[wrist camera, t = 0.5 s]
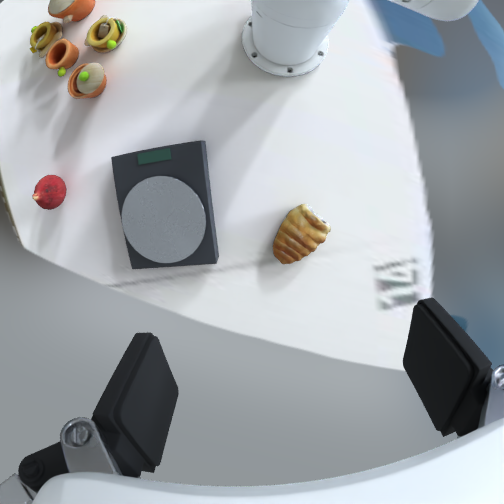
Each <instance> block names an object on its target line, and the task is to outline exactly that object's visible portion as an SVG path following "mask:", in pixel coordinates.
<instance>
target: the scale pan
mask: <svg viewBox="0 0 504 504" xmlns="http://www.w3.org/2000/svg"><path fill="white" fill-rule="evenodd" d="M122 226H123V230H124V233H125V235H126V237H127V239H128V241H129V243H130V244H131V245H132V247H133V248H134V249H135V250H136V251H137V252H138V253H139V254H141V255H142V256H144V257H146V258H147V259H150V260H152V261H155V262H159V263H173V262H178V261H181V260H183V259H185V258H187V257H188V256H190V255H191V254H192V253H193V252H194V251H195V250H196V249H197V248H198V246H199V245H200V243H201V241H202V239H203V237H204V234H205V230H206V213H205V209H204V206H203V203H202V201H201V199H200V198H199V196H198V195H197V193H196V192H195V191H194V190H193V189H192V188H191V187H190V186H189V185H188V184H186V183H185V182H183V181H181V180H179V179H177V178H174V177H170V176H154V177H150V178H147V179H145V180H143V181H141V182H139V183H138V184H137V185H135V186H134V187H133V188H132V189H131V191H130V192H129V193H128V195H127V197H126V199H125V201H124V204H123V208H122Z"/></svg>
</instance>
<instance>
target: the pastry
mask: <svg viewBox="0 0 504 504" xmlns="http://www.w3.org/2000/svg"><path fill="white" fill-rule="evenodd" d="M330 230H331V227H330V225H329V224H328V223H327V222H325V221H324V219H323V218H322V217H320V216H319V215H318V214H316V213H314V211H313V209H312V208H311V207H310V206H309V205H306V204H302V205H299V206H298V207H296V208H294V209H293V210H291V211H290V212H289V213H288V215H287V216H286V218H285V220H284V221H283V223H282V224H281V226H280V228H279V231H278V233H277V235H276V237H275V240H274V243H273V254H274V256H275V257H276V258H277V259H278V260H279V261H280V262H281V263H282V264H291V263H293V262H295V261H299V260H301V259H302V258H303V257H305V256H308V255H309V254H310V253H311V252H314V251H315V250H316V248H317V246H318V245H319V244H320V243H323V242H324V241H325V239H326V236H327V234H328V232H330Z"/></svg>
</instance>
